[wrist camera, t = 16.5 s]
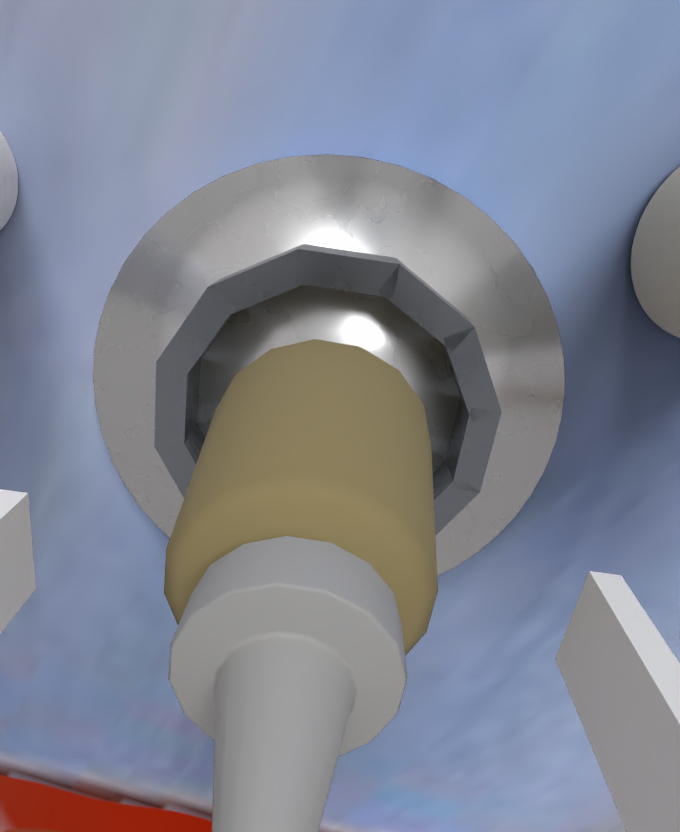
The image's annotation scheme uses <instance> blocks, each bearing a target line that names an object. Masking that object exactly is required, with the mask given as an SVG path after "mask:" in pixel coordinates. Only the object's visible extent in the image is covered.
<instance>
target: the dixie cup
mask: <svg viewBox="0 0 680 832" xmlns="http://www.w3.org/2000/svg"><path fill="white" fill-rule="evenodd" d="M17 196H18V171H17V166H16V162H15V159H14V156H13V153H12V151H11V149H10V146H9V144H8V142H7V141H6V139H5V137H4V135H3V134H2V132H1V131H0V230H1V229H2V228H3V227H4V226H5V225H6V223H7V222H8V221H9V219H10V217H11V215H12V213H13V211H14V208H15V205H16V201H17Z"/></svg>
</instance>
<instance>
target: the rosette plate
mask: <svg viewBox="0 0 680 832" xmlns="http://www.w3.org/2000/svg"><path fill="white" fill-rule="evenodd" d="M313 339H318V340H324V341H330V342H336V343H342V344H348V345H354V346H360V347H362V348H364V349H365V350H367V351H369V352H370V353H372V354H373V355H375V356H377V357H378V358H380V359H382V360H383V361H385V362H387V363H388V364H390V365H391V366H393V367H395V368H396V369H398V370H399V371H400V372H401V374H402V375H403V377H404V378H405V379H406V381H407V382H408V384H409V385H410V386H411V388H412V389H413V391H414V392H415V393H416V395H417V396H418V398H419V399H420V400H421V402H422V403H423V405H424V410H425V415H426V420H427V425H428V430H429V435H430V440H431V450H432V471H433V493H434V515H435V536H436V558H437V576H438V575H440V574H442V573H444V572H446V571H448V570H450V569H452V568H454V567H456V566H457V565H459V564H460V563H462V562H463V561H465V560H466V559H468V558H470V557H471V556H473V555H474V554H476V553H477V552H478V551H479V550H481V549H482V548H483V547H484V546H485V545H487V544H488V543H489V542H490V541H491V540H493V539H494V538H495V537H496V536H497V535H498V534H499V533H500V532H501V531H502V530H503V529H504V528H505V527H506V526H507V525H508V524H509V523H510V522H511V521H512V519H513V518H514V517H515V516H516V515H517V513H518V512H519V511H520V509H521V508H522V507H523V505H524V504H525V503H526V501H527V500H528V499H529V497H530V496H531V494H532V493H533V491H534V489H535V487H536V485H537V484H538V482H539V480H540V478H541V476H542V475H543V473H544V471H545V469H546V466H547V464H548V461H549V459H550V456H551V453H552V451H553V448H554V446H555V443H556V439H557V434H558V430H559V426H560V422H561V418H562V411H563V401H564V391H565V378H564V357H563V351H562V346H561V340H560V335H559V330H558V326H557V323H556V320H555V317H554V314H553V311H552V308H551V305H550V302H549V299H548V297H547V295H546V293H545V291H544V289H543V287H542V285H541V283H540V281H539V279H538V277H537V275H536V273H535V271H534V269H533V268H532V266H531V265H530V264H529V262H528V261H527V259H526V258H525V257H524V255H523V254H522V252H521V251H520V250H519V248H518V247H517V245H516V244H515V243H514V241H513V240H512V239H511V238H510V237H509V236H508V235H507V234H506V233H505V232H504V231H503V230H502V229H501V228H500V227H499V226H498V225H497V224H496V223H495V222H494V221H493V219H492V218H491V217H489V216H488V215H487V214H486V213H484V212H483V211H482V210H480V209H479V208H478V207H477V206H475V205H474V204H473V203H471V202H470V201H469V200H468V199H466V198H465V197H464V196H462V195H460V194H459V193H457V192H455V191H453V190H452V189H450V188H448V187H446V186H445V185H443V184H441V183H439V182H437V181H436V180H434V179H432V178H430V177H427V176H425V175H422V174H419V173H417V172H414V171H412V170H409V169H407V168H404V167H401V166H399V165H395V164H390V163H386V162H382V161H377V160H373V159H369V158H364V157H354V156H342V155H330V154H325V155H308V156H292V157H287V158H282V159H277V160H273V161H268V162H263V163H258V164H255V165H252V166H249V167H247V168H244V169H241V170H239V171H236V172H233V173H230V174H228V175H225V176H223V177H221V178H219V179H217V180H215V181H214V182H212V183H210V184H208V185H206V186H204V187H203V188H201V189H199V190H197V191H195V192H193V193H192V194H191V195H189V196H188V197H187V198H185V199H184V200H183V201H181V202H180V203H179V204H177V205H176V206H175V207H173V208H172V209H171V210H170V211H168V212H167V213H166V214H165V215H164V216H163V217H162V218H161V219H160V220H159V221H158V222H157V223H156V224H155V225H154V226H153V227H152V228H151V229H150V230H149V231H148V232H147V233H146V234H145V235H144V236H143V238H142V239H141V240H140V242H139V243H138V245H137V246H136V247H135V249H134V250H133V251H132V253H131V254H130V256H129V257H128V258H127V260H126V261H125V263H124V264H123V266H122V268H121V270H120V272H119V274H118V276H117V278H116V280H115V282H114V284H113V286H112V287H111V289H110V292H109V295H108V298H107V301H106V304H105V306H104V309H103V312H102V315H101V318H100V322H99V328H98V333H97V338H96V343H95V349H94V370H93V381H94V392H95V403H96V409H97V414H98V418H99V422H100V427H101V431H102V435H103V438H104V440H105V443H106V446H107V448H108V451H109V454H110V456H111V459H112V461H113V463H114V465H115V467H116V469H117V471H118V473H119V475H120V477H121V478H122V480H123V482H124V484H125V486H126V487H127V489H128V490H129V491H130V493H131V494H132V496H133V497H134V499H135V500H136V502H137V503H138V504H139V506H140V507H141V508H142V510H143V511H144V512H145V513H146V514H147V515H148V516H149V517H150V519H151V520H152V521H153V522H154V523H155V524H156V525H157V527H158V528H159V529H161V530H162V531H163V532H164V533H165V534H166V535H167V536H168V537H171V534H172V532H173V529H174V526H175V523H176V520H177V517H178V514H179V512H180V509H181V506H182V503H183V500H184V497H185V495H186V492H187V489H188V486H189V483H190V480H191V478H192V475H193V472H194V469H195V466H196V463H197V461H198V458H199V455H200V452H201V449H202V446H203V443H204V441H205V438H206V435H207V432H208V429H209V426H210V424H211V421H212V418H213V415H214V412H215V410H216V408H217V406H218V404H219V403H220V401H221V399H222V397H223V396H224V394H225V392H226V390H227V389H228V387H229V385H230V383H231V382H232V380H233V378H234V376H235V375H236V374H237V373H238V372H240V371H241V370H242V369H244V368H245V367H246V366H248V365H249V364H251V363H252V362H253V361H255V360H256V359H258V358H259V357H260V356H262V355H263V354H264V353H266V352H267V351H269V350H270V349H273V348H278V347H282V346H286V345H291V344H295V343H300V342H304V341H308V340H313Z"/></svg>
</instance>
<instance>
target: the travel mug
mask: <svg viewBox="0 0 680 832" xmlns="http://www.w3.org/2000/svg"><path fill="white" fill-rule="evenodd" d="M631 275H632V282H633V286H634V290H635V293H636V296H637V298H638V300H639V302H640V304H641V306H642V308H643V309H644V311H645V312H646V314H647V315H648V316H649V317H650V319H651V320H652V321H653V322H654V323H655V324H657V325H658V326H659V327H660V328H662V329H663V330H665V331H666V332H668V333H670V334H672V335H674V336H676V337H678V338H680V166H679V167H678V168H677V169H676V170H675V171H674V172H673V173H672V174H671V175H670V176H669V177H668V178H667V179H666V180H665V181H664V183H663V184H662V185H661V186H660V187H659V189H658V190H657V191H656V193H655V194H654V196H653V197H652V198H651V200H650V202H649V203H648V205H647V207H646V209H645V211H644V213H643V215H642V217H641V219H640V222H639V224H638V227H637V230H636V233H635V237H634V241H633V246H632V253H631Z"/></svg>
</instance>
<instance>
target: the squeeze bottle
mask: <svg viewBox="0 0 680 832" xmlns="http://www.w3.org/2000/svg"><path fill="white" fill-rule="evenodd" d="M437 592H438V580H437V558H436V536H435V515H434V493H433V471H432V450H431V440H430V435H429V430H428V425H427V420H426V415H425V410H424V405H423V403H422V402H421V400H420V399H419V398H418V396H417V395H416V393H415V392H414V391H413V389H412V388H411V386H410V385H409V384H408V382H407V381H406V379H405V378H404V377H403V375H402V374H401V372H400V371H399V370H398V369H396V368H395V367H393V366H391V365H390V364H388V363H387V362H385V361H383V360H382V359H380V358H378V357H377V356H375V355H373V354H372V353H370V352H369V351H367V350H365V349H364V348H362V347H360V346H354V345H348V344H342V343H336V342H330V341H324V340H318V339H313V340H308V341H304V342H300V343H295V344H291V345H286V346H282V347H278V348H273V349H270V350H269V351H267V352H266V353H264V354H263V355H262V356H260V357H259V358H258V359H256V360H255V361H253V362H252V363H251V364H249V365H248V366H246V367H245V368H244V369H242V370H241V371H240V372H238V373H237V374H236V375H235V376H234V378H233V380H232V382H231V383H230V385H229V387H228V389H227V390H226V392H225V394H224V396H223V397H222V399H221V401H220V403H219V404H218V406H217V408H216V410H215V412H214V415H213V418H212V421H211V424H210V426H209V429H208V432H207V435H206V438H205V441H204V443H203V446H202V449H201V452H200V455H199V458H198V461H197V463H196V466H195V469H194V472H193V475H192V478H191V480H190V483H189V486H188V489H187V492H186V495H185V497H184V500H183V503H182V506H181V509H180V512H179V514H178V517H177V520H176V523H175V526H174V529H173V532H172V534H171V537H170V540H169V543H168V546H167V549H166V564H165V584H164V594H165V596H166V599H167V601H168V603H169V606H170V608H171V610H172V612H173V615H174V617H175V619H176V622H177V624H178V627H177V630H176V632H175V635H174V637H173V640H172V642H171V647H170V663H169V681H170V684H171V686H172V688H173V690H174V692H175V694H176V697H177V699H178V701H179V703H180V705H181V707H182V710H183V712H184V713H185V715H186V716H187V717H188V718H189V719H191V720H192V721H193V722H194V723H195V724H196V725H197V726H198V727H199V728H200V729H202V730H203V731H204V732H205V733H206V734H207V735H208V736H209V737H210V738H211V739H212V740H214V776H213V811H212V832H318V830H319V827H320V823H321V819H322V815H323V812H324V808H325V804H326V800H327V797H328V793H329V789H330V785H331V782H332V778H333V774H334V770H335V767H336V763H337V759H338V757H339V756H341V755H343V754H345V753H347V752H350V751H352V750H354V749H356V748H358V747H360V746H362V745H364V744H366V743H368V742H370V741H372V740H373V739H374V738H375V737H376V736H377V735H378V734H379V732H380V731H381V730H382V729H383V728H384V727H385V726H386V725H387V724H388V723H389V722H390V721H391V719H392V718H393V717H394V716H395V715H396V714H397V713H398V710H399V707H400V703H401V699H402V696H403V692H404V689H405V685H406V681H407V671H406V661H405V656H406V655H407V653H408V652H409V651H410V650H411V649H412V648H413V647H414V645H415V644H416V643H417V642H418V641H419V640H420V639H421V637H422V636H423V635H424V634H425V633H426V631H427V628H428V624H429V621H430V617H431V613H432V610H433V606H434V603H435V599H436V596H437Z"/></svg>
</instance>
